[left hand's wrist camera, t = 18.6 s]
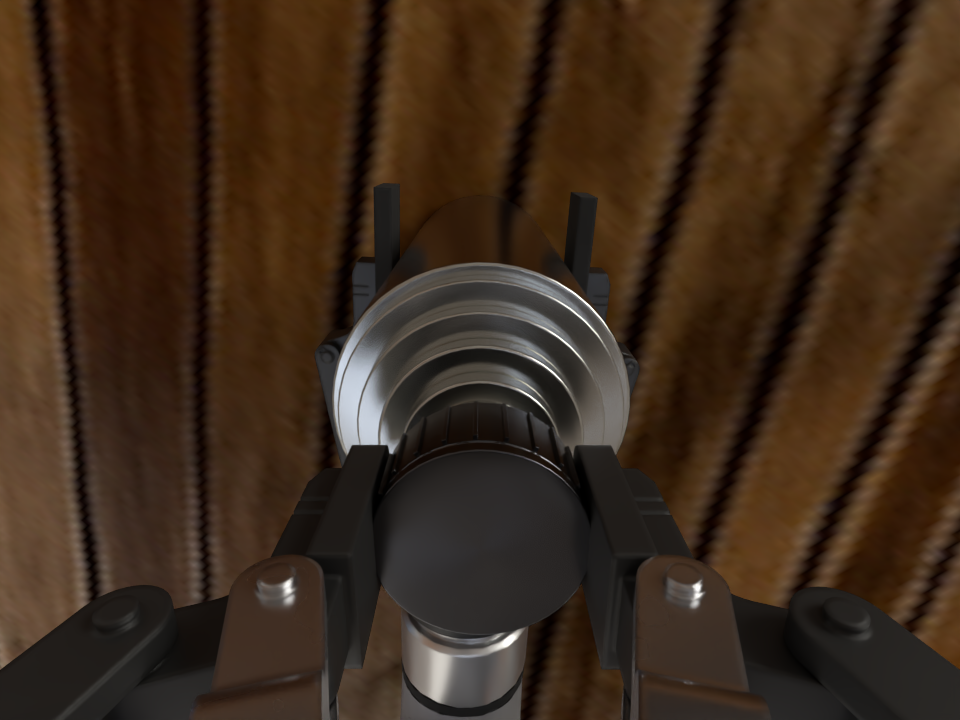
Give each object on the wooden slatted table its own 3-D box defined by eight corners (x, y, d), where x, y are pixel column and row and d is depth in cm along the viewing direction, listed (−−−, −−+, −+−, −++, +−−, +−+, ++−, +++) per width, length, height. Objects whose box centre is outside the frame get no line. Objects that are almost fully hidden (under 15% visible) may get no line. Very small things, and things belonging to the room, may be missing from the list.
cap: (438, 363, 11) (430, 406, 9) (617, 452, 12) (642, 510, 10) (351, 520, 13) (329, 585, 11) (517, 593, 13) (523, 666, 11)
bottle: (579, 264, 34) (789, 524, 11) (483, 359, 36) (489, 748, 13) (477, 163, 32) (469, 218, 9) (382, 270, 34) (176, 539, 11)
